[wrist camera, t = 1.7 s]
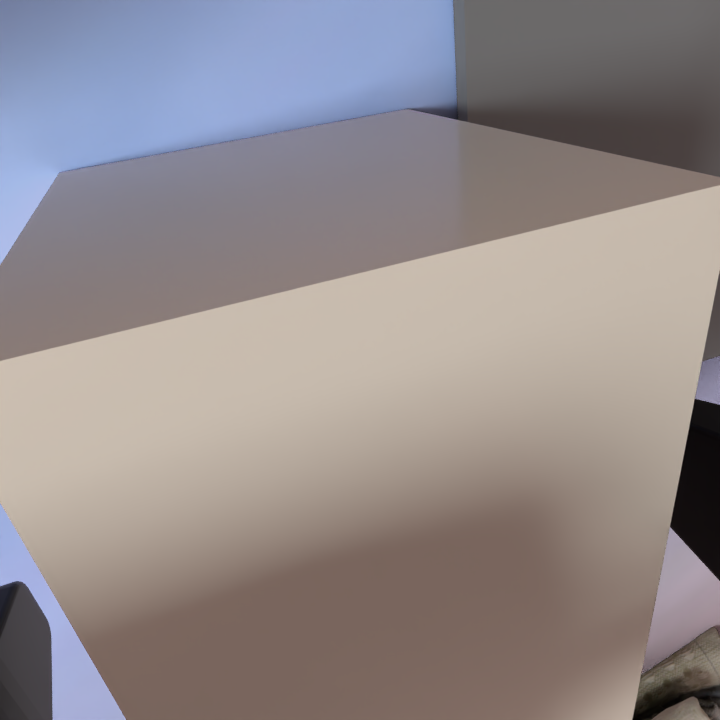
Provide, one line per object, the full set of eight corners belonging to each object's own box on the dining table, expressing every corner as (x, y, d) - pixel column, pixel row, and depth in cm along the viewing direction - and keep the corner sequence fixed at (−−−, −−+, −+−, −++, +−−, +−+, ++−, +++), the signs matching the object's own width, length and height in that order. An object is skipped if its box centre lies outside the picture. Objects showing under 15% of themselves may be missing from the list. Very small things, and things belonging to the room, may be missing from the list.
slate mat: (837, 307, 17) (851, 313, 17) (469, 425, 15) (477, 433, 14) (1014, -258, 11) (1041, -268, 11) (444, -232, 9) (457, -242, 8)
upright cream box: (436, 482, 15) (625, 756, 9) (203, 561, 14) (253, 937, 8) (406, 109, 11) (737, 181, 5) (59, 172, 9) (-71, 378, 4)
